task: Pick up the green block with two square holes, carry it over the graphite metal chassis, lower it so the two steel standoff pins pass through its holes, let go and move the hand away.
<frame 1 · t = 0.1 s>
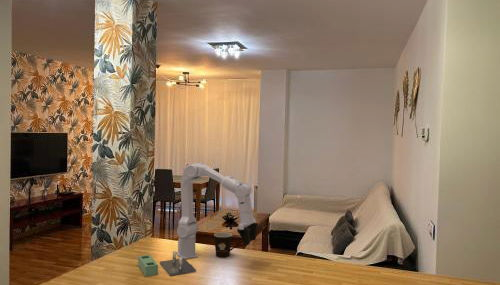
hand: (250, 242, 172), 11 cm above the counter, tool pointing down, fingers open, 7 cm apart
coffee mug: (225, 256, 185), on the counter
green block with holes: (147, 269, 166), on the counter
chassis: (177, 267, 169), on the counter
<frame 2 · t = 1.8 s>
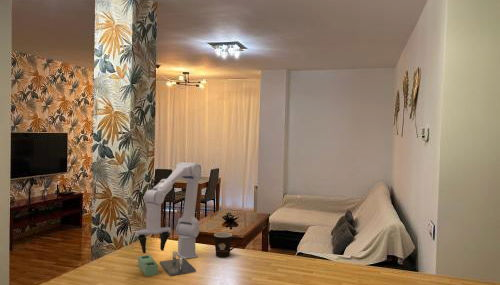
hand: (153, 251, 163), 9 cm above the counter, tool pointing down, fingers open, 7 cm apart
nothing on the counter moved.
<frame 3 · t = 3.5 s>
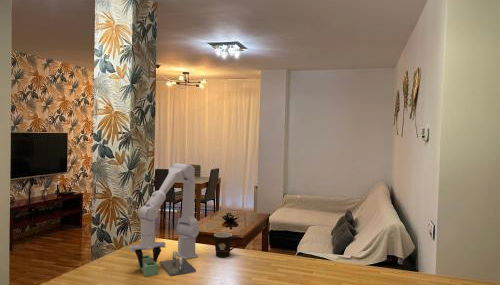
hand: (147, 266, 166), 2 cm above the counter, tool pointing down, fingers closed on green block with holes, 5 cm apart
green block with holes: (147, 269, 166), on the counter, touching gripper
everything else where it was.
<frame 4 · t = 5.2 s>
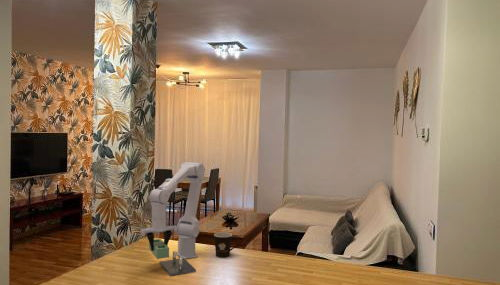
hand: (158, 249, 167), 9 cm above the counter, tool pointing down, fingers closed on green block with holes, 5 cm apart
green block with holes: (158, 253, 167), point 7 cm above the counter, touching gripper
everything else where it was.
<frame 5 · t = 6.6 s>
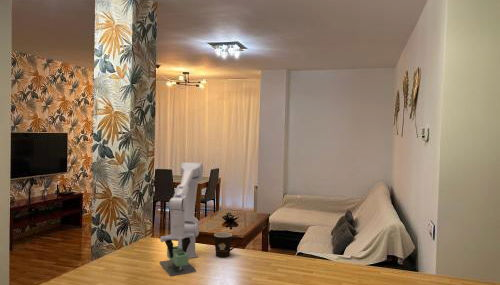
hand: (177, 256, 169), 5 cm above the counter, tool pointing down, fingers closed on green block with holes, 5 cm apart
green block with holes: (177, 260, 169), point 3 cm above the counter, touching gripper
everything else where it was.
when the fingers open (4 cm above the counter, at t = 7.3 s): green block with holes stays where it is, resting on chassis.
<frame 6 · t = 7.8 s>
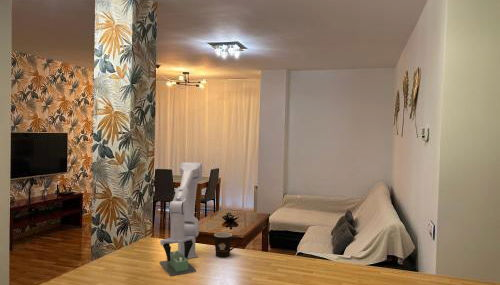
hand: (177, 259, 169), 4 cm above the counter, tool pointing down, fingers open, 7 cm apart
green block with holes: (177, 265, 169), point 1 cm above the counter, touching chassis
everything else where it was.
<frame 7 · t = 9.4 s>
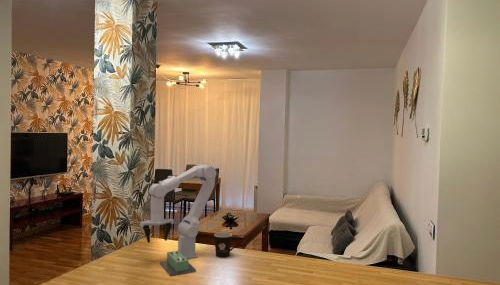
hand: (157, 241, 176), 9 cm above the counter, tool pointing down, fingers open, 7 cm apart
nothing on the counter moved.
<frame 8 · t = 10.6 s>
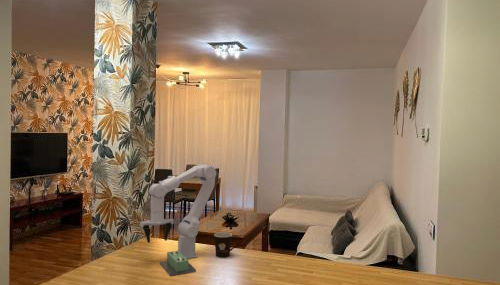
hand: (157, 241, 176), 9 cm above the counter, tool pointing down, fingers open, 7 cm apart
nothing on the counter moved.
at the end: green block with holes 0.0 cm off-centre on the chassis, point 1.0 cm above the chassis's base; green block with holes tilted 0°; the gripper is holding nothing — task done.
